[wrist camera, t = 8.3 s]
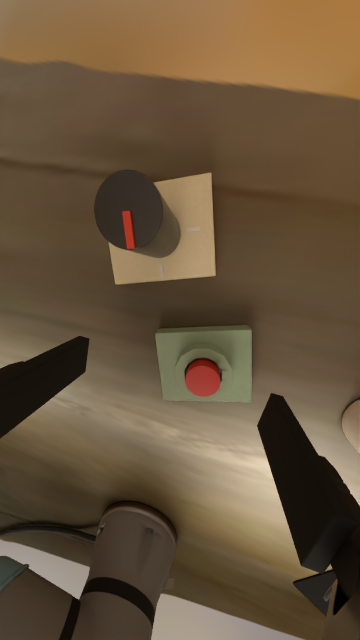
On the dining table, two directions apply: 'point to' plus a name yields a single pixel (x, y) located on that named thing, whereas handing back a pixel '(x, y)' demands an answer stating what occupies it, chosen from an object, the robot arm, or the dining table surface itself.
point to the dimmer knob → (136, 215)
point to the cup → (352, 424)
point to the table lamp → (317, 589)
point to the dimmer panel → (195, 240)
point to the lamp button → (203, 378)
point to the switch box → (211, 344)
